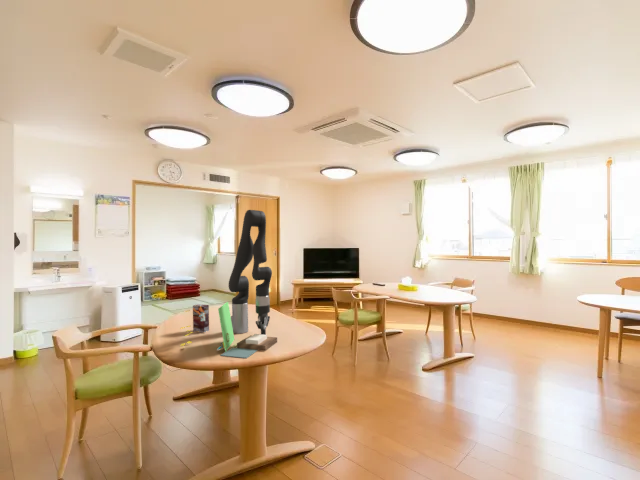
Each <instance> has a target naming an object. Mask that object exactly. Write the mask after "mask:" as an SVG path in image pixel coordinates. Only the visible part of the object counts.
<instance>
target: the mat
mask: <svg viewBox="0 0 640 480" xmlns="http://www.w3.org/2000/svg"><path fill="white" fill-rule="evenodd" d="M258 351H259V350H254V349H244V348H237V347H231V348H230V349H227V351H226V352H225V351H224V352H223V353H221V354H220V355H219V356H220V357H227V358H228V357H230V358H238V359H249V357H250V356H253V354H255V353H257V352H258Z"/></svg>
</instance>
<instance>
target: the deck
mask: <svg viewBox="0 0 640 480" xmlns="http://www.w3.org/2000/svg"><path fill="white" fill-rule="evenodd" d="M252 335H253V334H252ZM252 335H250V334H249V336H247V337H245V338H243V339H242V340H239V342H237V343H236V348H244V349H254V350H258V351H263V352H266V351H268V350H269V349H270V348H272V346H274V345H276V344H277V343H278V337H275V336H267V339H266V340H264V341H263V342H261V343H260V344H247V343H246V339H247V338H249V337H251V336H252Z"/></svg>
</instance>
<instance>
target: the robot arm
mask: <svg viewBox="0 0 640 480" xmlns="http://www.w3.org/2000/svg"><path fill="white" fill-rule="evenodd" d="M252 227H255V228H258V233H257V236H256V239H255V240H254V242H253V239H252V237H251V231H252V230H251V229H252ZM266 227H267V218H266V214H265V212H264V211H262V210H256V209H247V210H246V211H245V213H244V217H243V222H242V231H241V236H240V239H239V244H238V247H237V252H236V258H235V261H234V265H233V268H232V271H231V274H230V277H229V279H228V290H229V292H231V293H238V294H237V295H235V296H234V297H232V299H231V314H232V315H230V316H231V322H232V328H233V334H244V333H247V332H249V304H248V303H249V302H248V301H249V296H250V295H249V293H250V282H249V279H248V277H247V276H246V275H242V274H243V272H244V270H245V269H246V268H247V267H248V266H249V264H251V262H252V260H253V267H252V271H251V277H252V279H253V280H254V281H263V282H262V283H259V284H257V285H256V286H255V313H256V315H257V320H256V321H255V324H256V327H257V329H258V330H260V334H263V335H267V332H266V329H267V327H268V326H269V324H270V323H269V322H270V319H271V317H270V315H269V313H270V312H271V310H270V309H271V308H270V307H271V305H270V304H271V303H270V302H271V299H270V284H271V279H272V277H273V276H272V275H273V271H272V269H271V268H270V266H260V264H261V265H262V264H264V263H266V262H267V260H268V258H267V250H266V249H267V248H266V235H267V234H266V232H267V229H266Z"/></svg>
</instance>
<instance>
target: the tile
mask: <svg viewBox="0 0 640 480" xmlns="http://www.w3.org/2000/svg"><path fill="white" fill-rule="evenodd" d="M248 337H249V336H248ZM267 337H268V334H266V335H263V334H261V333H254V334H252V336H251V337H249V338H247V337H246V338H247V339H246V343H247V344H260V343H261V342H263V341H264V340H266V339H267Z"/></svg>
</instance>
